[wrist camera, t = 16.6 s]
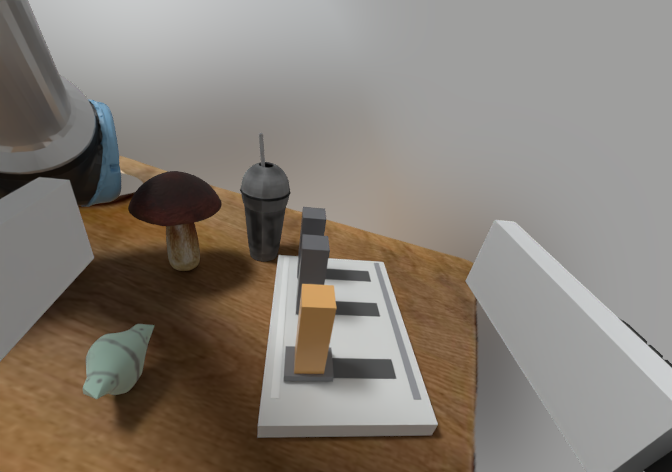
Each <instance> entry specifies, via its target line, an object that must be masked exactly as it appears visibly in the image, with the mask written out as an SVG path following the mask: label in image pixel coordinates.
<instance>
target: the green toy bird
mask: <svg viewBox="0 0 672 472" xmlns="http://www.w3.org/2000/svg"><path fill="white" fill-rule="evenodd" d="M153 328H154V325H145V324H136V325H135V326H133V327H132V328H131V329H129V330H127V331H124V332H120V333H111V334H106V335H104V336H102V337H100V338H99V339H98V340H96V341H95V343H94V344H93V345H92V346H91V348H90V349H89V351H88V354H87V356H86V372H87V379H86V381H85V384H84V386H83V394H85V395H88V396H90V397H93V398H95V399H98V398H100V397H102V396H104V395H105V394H112V395H118V394H123V393H126V392H128V391H129V390H130V389H131V388H132V387H133V386H134V384H135V383H136V382H137V381H138V379H139V377H140V376H141V374H142V371H143V366H144V360H145V355H146V351H147V346H148V343H149V340H150V337H151V334H152V331H153Z"/></svg>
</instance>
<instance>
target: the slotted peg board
mask: <svg viewBox="0 0 672 472" xmlns="http://www.w3.org/2000/svg"><path fill="white" fill-rule="evenodd" d="M325 214H326V213H325V209H322V208H310V207H303V212H302V223H301V233H300V244H299V254H298V256H285V255H278V263H277V271H276V280H275V288H274V296H273V304H272V312H271V321H270V329H269V337H268V345H267V354H266V362H265V370H264V378H263V386H262V395H261V403H260V411H259V419H258V434H257V438H261V437H341V436H421V435H432V434H433V432H434V431H435V429H436V427H437V425H438V424H437V421H436V418H435V415H434V412H433V409H432V406H431V403H430V400H429V397H428V394H427V391H426V388H425V385H424V382H423V379H422V376H421V373H420V370H419V367H418V364H417V361H416V358H415V355H414V352H413V349H412V346H411V343H410V340H409V337H408V334H407V331H406V328H405V325H404V322H403V319H402V316H401V313H400V311H399V308H398V305H397V302H396V299H395V296H394V293H393V290H392V287H391V284H390V281H389V278H388V275H387V272H386V269H385V266H384V263H383V262H375V261H360V260H345V259H330V258H329V251H330V250H329V241H328V236H324V232H325V224H326V215H325ZM302 284H317V285H334V291H335V300H336V313H335V319H334V324H333V329H332V334H331V339H330V344H329V347H331V349H332V361H333V374H334V378H333V382H323V381H283V380H284V364H285V349H286V346H295V344H296V334H297V325H298V316H299V307H300V298H301V289H302Z"/></svg>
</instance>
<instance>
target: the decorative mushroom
mask: <svg viewBox="0 0 672 472" xmlns="http://www.w3.org/2000/svg"><path fill="white" fill-rule="evenodd" d="M220 208H221V200H220V199H219V197H218V195H217V194H216V192H215V191H214V190H213V189H212V187H211V186H210V185H209V184H207V183H206V182H205V181H203V180H202V179H200V178H198V177H196V176H194V175H191V174H188V173H184V172H178V171H170V172H165V173H162V174H159V175H157V176H155V177H153V178H151V179H149V180H148V181H146V182H145V183H144V184H142V185H141V186H140V187H139V188H138V190H137V191H136V192H135V194H134V196H133V197H132V200H131V202H130V204H129V207H128V209H129V212H130V213H131V214H132V215H133V216H134V217H135V218H137V219H139V220H142V221H145V222H147V223H151V224H155V225H160V226H166V241H167V251H168V259H169V262H170V265H171V266H172V267H173V268H174V269H176V270H179V271H189V270H191V269H194V268H195V267H197V266H198V264H199V261H200V250H199V243H198V237H197V232H196V228H195V224H194V222H198V221H201V220H204V219H207V218H209V217H211V216H213V215H214V214H216V213H217V212H218V211H219V209H220Z"/></svg>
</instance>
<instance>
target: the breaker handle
mask: <svg viewBox="0 0 672 472" xmlns="http://www.w3.org/2000/svg"><path fill="white" fill-rule="evenodd" d="M335 313H336V300H335V291H334V285H317V284H302V289H301V298H300V307H299V316H298V325H297V334H296V344H295V346H286V349H285V364H284V380H283V381H323V382H333V378H334V374H333V361H332V349H331V347H329V344H330V339H331V334H332V329H333V324H334V319H335Z"/></svg>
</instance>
